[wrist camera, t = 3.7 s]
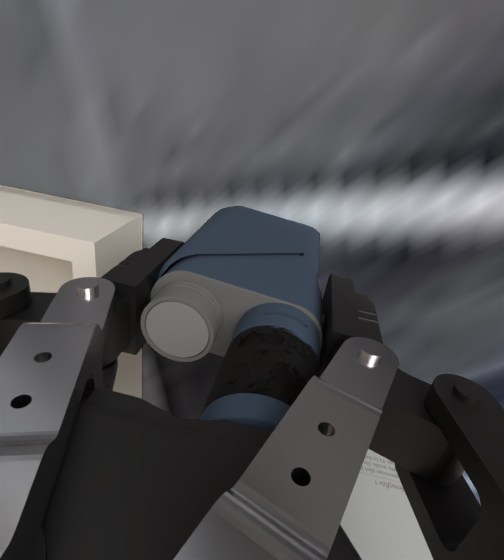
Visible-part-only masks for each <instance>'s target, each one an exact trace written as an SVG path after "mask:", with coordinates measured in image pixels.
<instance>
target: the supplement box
mask: <svg viewBox="0 0 504 560" xmlns="http://www.w3.org/2000/svg"><path fill="white" fill-rule="evenodd" d="M340 525H341V526H342V528H343V529H344V531H345V533H346V534H347V536H348V538H349V539H350V541H351V542H352V544H353V546H354V547H355V549H356V551H357V552H358V554H359V555H360V557H361V559H362V560H433V557H432V555H431V553H430V550H429V548H428V546H427V543H426V541H425V538H424V536H423V534H422V531H421V529H420V527H419V524H418V522H417V519H416V517H415V515H414V512H413V510H412V508H411V505H410V503H409V500H408V498H407V496H406V493H405V491H404V489H403V486H402V484H401V481H400V479H399V477H398V474H397V472H396V469H395V463H394V462H392V461H390V460H388V459H386V458H385V457H383V456H381V455H379V454H377V453H375V452H373V451H372V450H370V449H368V451H367V454H366V456H365V459H364V462H363V464H362V467H361V470H360V472H359V475H358V478H357V480H356V483H355V486H354V488H353V491H352V494H351V496H350V499H349V502H348V504H347V507H346V510H345V512H344V515H343V518H342V520H341V523H340Z"/></svg>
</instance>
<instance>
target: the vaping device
mask: <svg viewBox="0 0 504 560" xmlns="http://www.w3.org/2000/svg"><path fill="white" fill-rule="evenodd" d="M319 243H320V234H319V232H318V231H317V230H315V229H314V228H312V227H310V226H307V225H303V224H300V223H297V222H293V221H290V220H286V219H283V218H280V217H276V216H273V215H270V214H266V213H263V212H260V211H256V210H253V209H250V208H246V207H242V206H234V207H228V208H224V209H221V210H219V211H218V212H217V213H215V214H214V215H213V216H212V217H211V218H210V219H209V220H208V221H207V222H206V223H205V224H204V225H203V226H202V227H201V228H200V229H199V230H198V231H197V232H196V233H195V234H194V235H193V236H192V237H191V238H190V239H189V240H188V241H186V242H185V243H184V244H183V245H182V246H181V247H180V248H179V249H178V250H177V251H176V252H175V253H174V254H173V255H172V256H171V257H170V258H169V259H168V260H167V261H166V262H165V263H164V265H163V266H162V268H161V270H160V272H159V276H158V279H157V282H156V283H155V285H154V286H153V288H152V291H151V302H150V303H149V304H148V305H147V306H146V307H145V309H144V310H143V312H142V315H141V323H140V325H141V330H142V333H143V336H144V338H145V339H146V341H147V342H148V344H149V345H150V346H151V347H152V348H153V349H154V350H155V351H156V352H158V353H159V354H160V355H162V356H164V357H166V358H168V359H171V360H174V361H179V362H191V361H196V360H198V359H201V358H202V357H204V356H205V355H206V354H207V353H208V352H209V353H212V354H216V355H219V356H222V357H224V360H223V362H222V364H221V367H220V369H219V372H218V374H217V377H216V379H215V382H214V384H213V387H212V389H211V392H210V394H209V397H208V399H207V401H206V404H205V406H204V409H203V411H202V414H201V416H200V419H199V420H216V421H231V422H235V423H239V424H243V425H247V426H251V427H255V428H258V429H262V430H266V431H270V432H273V431H274V430H275V428H276V427H277V425H278V424H279V423H280V421H281V420H282V418H283V417H284V416H285V414H286V413H287V411H288V410H289V409H290V407H291V406H292V404H293V403H294V401H295V400H296V399H297V397H298V396H299V394H300V393H301V392H302V390H303V389H304V387H305V386H306V385H307V383H308V382H309V380H310V379H311V378H312V377H313V376H317V377H319V354H320V351H321V348H322V342H323V336H322V326H323V321H324V315H323V314H322V309H323V306H322V297H321V292H320V289H319V285H318V281H317V278H318V261H319ZM178 259H179V260H178ZM176 260H178V261H177V262H176V263H175V264H174V265H173V266H172V267H171V268H170V270H169V271H168V272H167V273H166V274H165V275H164V276H162V277H161V275H162V274H163V273H164V272H165V270H166V269H167V268H168V267H169V266H170V265H171V264H172V263H173V262H175V261H176ZM160 277H161V278H160Z"/></svg>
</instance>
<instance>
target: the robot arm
mask: <svg viewBox="0 0 504 560" xmlns="http://www.w3.org/2000/svg"><path fill="white" fill-rule="evenodd" d="M183 244H184V242H180V241H175V240H171V239H166V238H162V239H161V240H160V241H159V242H157V243H156V244H155V245H154V246H152V247H151V248H150V249H148V248H145V249H142V250H139V251H136V252H133V253H132V254H130V255H129V256H128V257H127V258H125V260H123V261H121V262H120V263H119V264H118V265H116V266H115V267H114V268H112V269H111V270H110V271H108V272H107V273H106V274H104V275H103V276H102V277H100V278H98V277H83V278H77V279H73V280H70V281H68V282H66V283H64V284H63V285H62V286H61V287H60V289H59V290H58V292H57V293H47V292H31V291H30V284H29V280H28V278H27V277H26V276H24V275H21V274H18V273H11V272H0V560H362V559H361V557H360V555H359V554H358V552H357V551H356V549H355V547H354V546H353V544H352V542H351V541H350V539H349V538H348V536H347V534H346V533H345V531H344V529H343V528H342V526H341V525H340V523H341V520H342V518H343V515H344V512H345V510H346V507H347V504H348V502H349V499H350V496H351V494H352V491H353V488H354V486H355V483H356V480H357V478H358V475H359V472H360V470H361V467H362V464H363V462H364V459H365V456H366V454H367V451H368V449H370V450H372V451H373V452H375V453H377V454H379V455H381V456H383V457H385V458H386V459H388V460H390V461H392V462H394V463H395V469H396V472H397V474H398V477H399V479H400V481H401V484H402V486H403V489H404V491H405V493H406V496H407V498H408V500H409V503H410V505H411V508H412V510H413V512H414V515H415V517H416V519H417V522H418V524H419V527H420V529H421V531H422V534H423V536H424V538H425V541H426V543H427V546H428V548H429V550H430V553H431V555H432V557H433V560H504V409H503V408H502V406H501V405H500V404H499V403H498V402H497V401H496V399H495V398H494V397H493V396H492V395H491V394H490V393H489V392H488V391H487V390H485V389H484V388H483V387H481V386H480V385H478V384H477V383H475V382H473V381H471V380H469V379H467V378H464V377H461V376H458V375H453V374H441V375H439V376H437V377H436V378H435V379H434V381H433V383H432V385H431V384H428V383H426V382H424V381H421V380H419V379H417V378H415V377H412V376H410V375H408V374H406V373H405V372H403V371H402V370H400V369H399V368H398V365H399V361H398V358H397V356H396V355H395V354H394V352H393V351H392V350H391V349H389V348H388V347H387V346H385V345H384V344H383V341H382V337H381V332H380V328H379V324H378V319H377V315H376V311H375V306H374V304H373V303H372V302H371V300H370V299H369V298H368V297H367V296H366V295H362V294H357V293H355V289H354V282H353V278H351V277H346V276H341V275H336V274H332V273H331V274H330V276H329V279H328V283H327V286H326V290H325V294H324V298H323V301H322V306H323V309H322V314H323V315H324V321H323V326H322V336H323V342H322V348H321V351H320V354H319V377H317V376H313V377H312V378H311V379H310V380H309V382H308V383H307V385H306V386H305V387H304V389H303V390H302V392H301V393H300V394H299V396H298V397H297V399H296V400H295V401H294V403H293V404H292V406H291V407H290V409H289V410H288V411H287V413H286V414H285V416H284V417H283V418H282V420H281V421H280V423H279V424H278V425H277V427H276V428H275V430H274V431H273V432H270V431H266V430H262V429H258V428H255V427H251V426H247V425H243V424H239V423H235V422H231V421H216V420H192V419H180V418H177V417H175V416H173V415H171V414H169V413H167V412H165V411H163V410H161V409H159V408H158V407H156V406H154V405H152V404H150V403H148V402H146V401H144V400H143V399H141V398H138V397H135V396H131V395H127V394H123V393H119V392H115V391H113V387H114V382H115V377H116V373H117V368H118V356H119V355H120V354H121V353H122V352H125V353H129V354H133V355H137V354H138V352H139V351H140V350H141V348H142V347H143V346H144V344H145V343H146V342H147V341H146V339H145V338H144V336H143V333H142V330H141V325H140V323H141V315H142V312H143V310H144V309H145V307H146V306H147V305H148V304H149V303H150V302H151V291H152V288H153V286H154V285H155V283H156V282H157V279H158V276H159V272H160V270H161V268H162V266H163V265H164V263H165V262H166V261H167V260H168V259H169V258H170V257H171V256H172V255H173V254H174V253H175V252H176V251H177V250H178V249H179V248H180V247H181V246H182V245H183ZM178 260H179V259H178ZM178 260H176V261H175V262H173V263H172V264H171V265H170V266H169V267H168V268H167V269H166V270H165V272H164V273H163V274H162V275H161V277H162V276H164V275H165V274H166V273H167V272H168V271H169V270H170V268H171V267H172V266H173V265H174V264H175V263H176V262H177V261H178ZM161 277H160V278H161ZM464 470H465V471H466V473H467V475H468V476H469V478H470V480H471V481H472V483H473V485H474V486H475V488H476V490H477V492H478V495H479V498H480V502H481V506H480V504H479V503H478V501H477V499H476V498H475V496H474V494H473V492H472V491H471V489H470V487H469V486H468V484H467V482H466V481H465V479H464V477H463V475H462V473H463V472H464Z"/></svg>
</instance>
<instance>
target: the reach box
mask: <svg viewBox="0 0 504 560" xmlns="http://www.w3.org/2000/svg"><path fill="white" fill-rule="evenodd" d="M142 241H143V214H141V213H136V212H131V211H126V210H121V209H116V208H111V207H106V206H101V205H96V204H92V203H87V202H82V201H77V200H72V199H67V198H62V197H57V196H52V195H47V194H42V193H38V192H33V191H28V190H23V189H18V188H13V187H8V186H3V185H0V272H11V273H18V274H21V275H24V276H26V277H27V278H28V280H29V284H30V291H31V292H47V293H57V292H58V290H59V289H60V287H61V286H62V285H63V284H64V283H66V282H68V281H70V280H73V279H77V278H83V277H98V278H100V277H102V276H103V275H104V274H106V273H107V272H108V271H110V270H111V269H112V268H114V267H115V266H116V265H118V264H119V263H120V262H121V261H123V260H125V258H127V257H128V256H129V255H130V254H132V253H133V252H136V251H139V250H142ZM113 391H115V392H119V393H123V394H127V395H131V396H135V397H138V398H141V399H142V348H141V350H140V351H139V352H138V354H137V355H133V354H129V353H125V352H122V353H121V354H120V355H119V356H118V368H117V373H116V377H115V382H114V387H113Z"/></svg>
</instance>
